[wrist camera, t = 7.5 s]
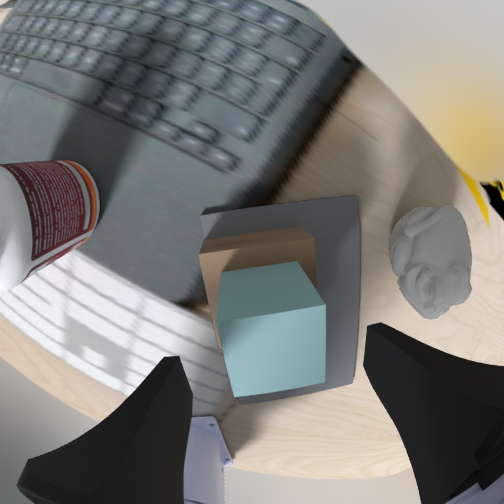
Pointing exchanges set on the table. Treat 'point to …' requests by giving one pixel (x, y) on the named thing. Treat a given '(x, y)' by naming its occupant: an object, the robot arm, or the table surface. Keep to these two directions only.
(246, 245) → the walnut slab
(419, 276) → the grey rounded lumpy piece
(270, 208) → the mat
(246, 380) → the teal block
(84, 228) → the pill bottle
